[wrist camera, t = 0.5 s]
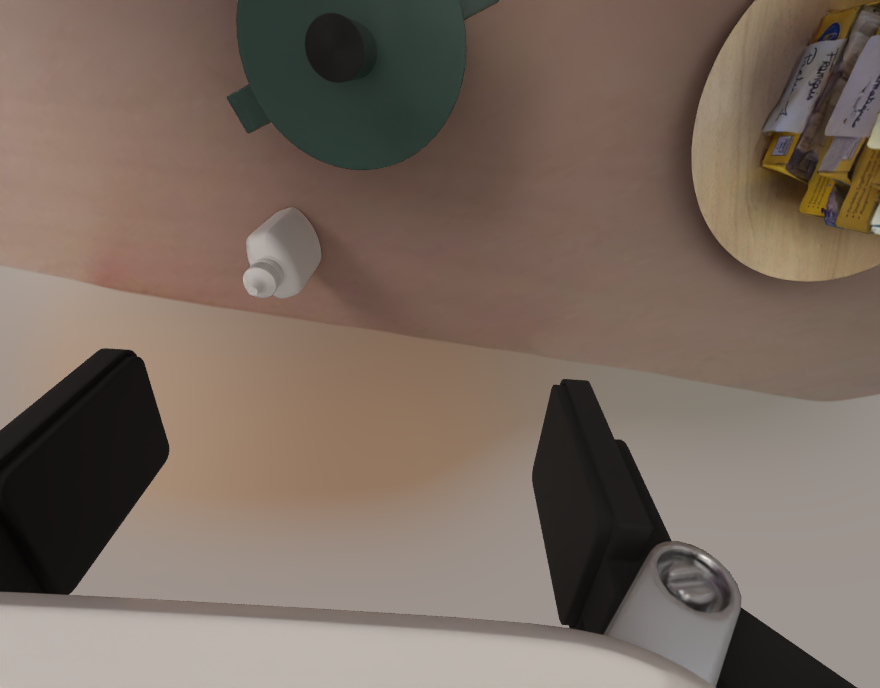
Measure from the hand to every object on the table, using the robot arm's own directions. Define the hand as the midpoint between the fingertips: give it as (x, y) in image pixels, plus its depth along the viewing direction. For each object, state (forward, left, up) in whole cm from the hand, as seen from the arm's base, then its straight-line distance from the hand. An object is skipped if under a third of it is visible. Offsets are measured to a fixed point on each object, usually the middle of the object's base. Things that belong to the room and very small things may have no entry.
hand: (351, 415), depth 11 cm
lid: (-9, 0, -25) cm, 26 cm away
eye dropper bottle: (+1, -13, -34) cm, 36 cm away
